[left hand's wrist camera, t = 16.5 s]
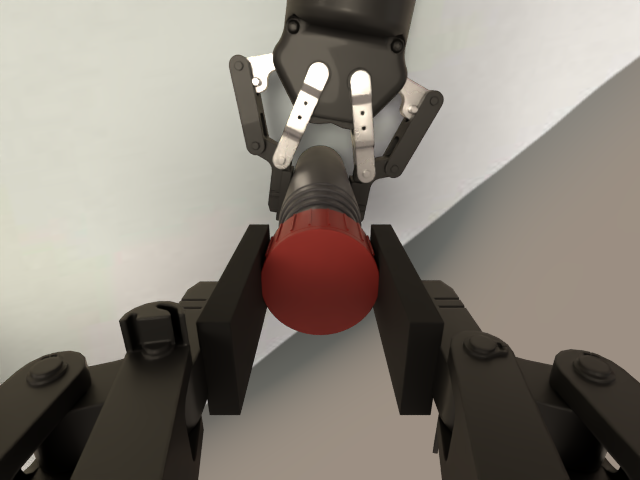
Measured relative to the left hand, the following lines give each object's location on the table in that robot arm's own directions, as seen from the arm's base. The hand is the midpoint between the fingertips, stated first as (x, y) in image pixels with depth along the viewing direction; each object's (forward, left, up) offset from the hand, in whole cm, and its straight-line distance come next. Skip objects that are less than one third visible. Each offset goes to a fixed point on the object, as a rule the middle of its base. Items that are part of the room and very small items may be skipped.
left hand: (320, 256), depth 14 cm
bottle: (0, 0, -18) cm, 18 cm away
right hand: (-2, -2, -12) cm, 12 cm away
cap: (0, 0, +2) cm, 2 cm away
